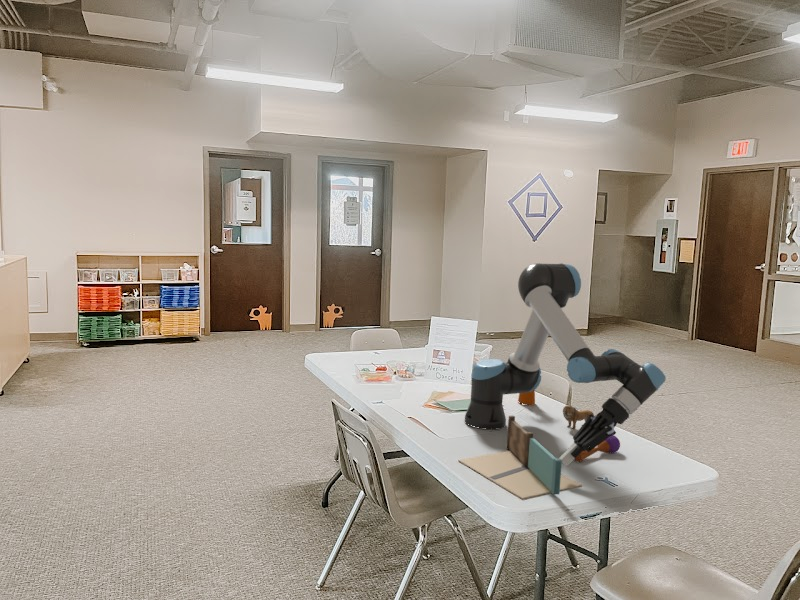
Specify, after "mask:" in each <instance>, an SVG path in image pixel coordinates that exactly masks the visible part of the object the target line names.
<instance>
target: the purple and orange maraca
mask: <svg viewBox="0 0 800 600" xmlns="http://www.w3.org/2000/svg"><path fill="white" fill-rule="evenodd" d="M620 448H621V442H620V440H619V438H618V437H617V436H615V435H613V436H610V437H609V438H607V439H606V440H604V441H603V442H602V443H600V444H599V445H598V446H596V447H595V448H594V449H592V450H591V451H589V452H587V451H582V452H581V453H580V454H579V455H578V456H577V457H576V458H575V459H574V461H575V462H579V463H581V462H582V461H583V460H585V459H588V458H589V457H590V456H592V455H594V454H595V453H597V452H602V453H604V454H605V453H608V454H615V453H617V452H618V451H619V449H620Z"/></svg>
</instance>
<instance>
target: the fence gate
mask: <svg viewBox="0 0 800 600" xmlns="http://www.w3.org/2000/svg"><path fill="white" fill-rule="evenodd" d="M562 465H563V464H562V460H561V459H560V458H559V457H558V458H556V457H555V456H554V455H553V454H552V453H551V452H550V451H549V450H547V448H546V447H544V446H543V445H542V444H541V443H540V442H539V441H538V440H537V439H536V438H534V437H533V438H530V445H529V459H528V468H529V469H530V470H531V471H532V472H533V473H534V474H535V475H536V476H537V477H538V478H539V479H540V480H541V481H542V482H543V483H544V484H545V485H546V486H547V487H548V488H549V490H550V491H551V493H550V494H552V495H560V492H561V491H560V479H561V474H562Z"/></svg>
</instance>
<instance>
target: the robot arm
mask: <svg viewBox="0 0 800 600" xmlns="http://www.w3.org/2000/svg"><path fill="white" fill-rule="evenodd" d="M517 287H518V293H519V296H520V298H521V299H522V301H523V302H524V304H525V305H526V307H528V308H531V309H532V310H531V312H530V315H529V318H528V320H527V323H526V325H525V327H524V330H523V333H522V335H521V337H520V341H518V342H519V344H518V345H517V348H516V350H515V351H514V352H512V353H510V354H509V356H508V359H507V361H506V362H505V361H504V360H501V359H499V358H498V359H495V358H492V359H491V358H487V359H486V358H484V359H480V360H478V361H476V362H475V363H474V364H473V366H472V371H471V386H470V387H471V391H470V402H469V404H468V408H467V409H466V412H465V414H464V423H465V422H466V423H467V424H469V425H472V426H475V427H479V428H478V429H480V428H486V429H485V430H497V429H496V428H500V429H503V428H505V427H506V426H505V425H506V424H507V418H506V413H505V410H504V405H503V399H504V398H503V397H504V395H513V394H514V395H515V394H519V393H527V392H531V391H533V390H536V389H537V388H538V387H539V385H540V384H541V382H542V375H541V374H542V370H541V367H540V363H539V358H540V356H541V353H542V352H543V349H544V347H545V344H546V342H547V340H548V337H549V335H550V337H551V338H552V340H553V342H554V343H555V344H556V346H557V347H558V349H559V350H560V352H561V353H562V354H563V356H564V357H565V359H566V360H567V365H566V371H567V375H568V378H569V379H570V380H571V381H572V382H574V383H578V384H579V383H580V384H589V383H595V382H604V381H618V382H619V383H620V384H622V385H621V386H620V387H619V388H618V389H617V390H616V391H615V392H613V394H612V395H611V398H610V397H609V398H608V399H607V400H606V401H605V402H604V403H603V404H602V406H601V409H602V410H601V411H599V412H598V413H597V414H596V415H594V416H593V415H592V414H590V415H589V417H588V419H587V420H586V422H585V421H584V423H583V424H582V425H583V426H582V425H581V427H580V428H579V429H578V431H576V433H575V435H574V436H572V439H573V444H571V445H570V447H568V449H566V450H565V452H563V453H562V454H561V456H559V457H558V458H560V459H561V460H562V463H563V464H562V465H564V466H565V467H568V466H569V464H571V463H572V462H573V460H574V459H575V458H576V457H577V456H578V455H579V454H580V453H581V452H582V451H587V452H589V451H591V450H592V449H594V448H596V447H597V446H598V445H599V444H600V443H602V442H603V441H604V440H606V439H607V438H609V437H610V436H613V435H614V436H615V435H616V434H617V432H616V430H615V427H616V426H617V425H622V424H624V423H625V422H626V420H628V419H629V418H630V415H633V413H635V411H637V410H638V409H639V408H640V407H641V405H643V403H645V402H646V401H647V400H648V399H649V398H650V397H651V396H653V394H655V392H657V391H658V390H659V388H661V386H662V385H663V384H664V383H665V382H666V380H667V379H666V378H667V377H666V375H665V374H664V372H663V371H662V369H660V367H658V366H657V365H656V364H654V363H652V362H649V361H646V362H645V363H644V364H642V365H640V364H638V363H637V362H636V361H634V360H633V359H631V358H629V357H628V356H627V355H626V354H624V352H623V353H622V352H621V351H618V350H617V349H614V348H609V349H607V351H604V352H603V353H602V354H601V355H595V354H594V353H593V351H592V350H591V349H590V347H589V346H588V344H587V342H585V341H584V338H583V337H582V336H581V334H580V333H579V332H578V330H577V329H576V327H575V325H574V324H573V323H572V322H571V321H570V319H569V318H568V316H567V314H566V313H565V311H564V310H563V309H564V308H565V307H566V306H567V303H568V302H569V299H573V298H574V297H577V296H578V295H579V293H580V292H581V288H582V279H581V276H580V272H579V271H578V270H577V268H576V267H575V266H573V265H571V264H569V263H568V264H566V263H562V262H561V263H540V262H539V263H533V264H530V265H528V266H526V268H524V269H523V271H522V272H521V273H520V275H519V278H518V282H517ZM466 423H465V424H466ZM467 424H466V425H467ZM469 425H468V426H469ZM472 426H471V427H472ZM504 426H505V427H504ZM475 427H474V428H475ZM502 427H503V428H502ZM574 461H575V460H574Z"/></svg>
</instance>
